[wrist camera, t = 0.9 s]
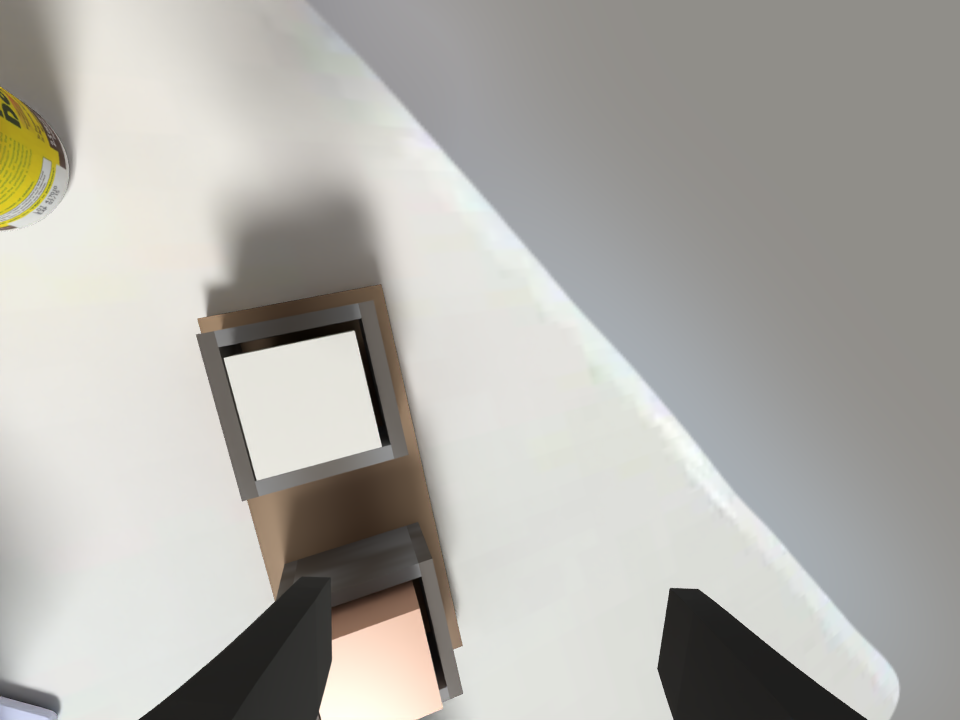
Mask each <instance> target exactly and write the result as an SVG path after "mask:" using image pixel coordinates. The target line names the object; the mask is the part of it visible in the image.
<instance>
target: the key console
mask: <svg viewBox="0 0 960 720" xmlns="http://www.w3.org/2000/svg"><path fill="white" fill-rule="evenodd" d="M198 323H199V327H200V330H201V334H196V336H197V340H198V344H199V347H200V351H201V355H202V358H203V362H204V365H205V369H206V373H207V376H208V380H209V383H210V387H211V391H212V394H213V398H214V402H215V405H216V409H217V412H218V416H219V420H220V423H221V427H222V430H223V434H224V438H225V441H226V445H227V449H228V452H229V456H230V459H231V463H232V467H233V470H234V474H235V477H236V481H237V485H238V488H239V492H240V496H241V499H242V501H245V500H247V501H248V505H249V508H250V512H251V516H252V519H253V523H254V527H255V530H256V534H257V537H258V541H259V545H260V548H261V552H262V556H263V559H264V563H265V567H266V570H267V574H268V577H269V581H270V585H271V588H272V592H273V596H274V599H275V601H276V600H277V599H278V598H279V597H280V596H281V595H282V594H283V593H284V592H285V591H286V590H287V589H288V588H290V587H291V586H292V585H293V584H294V583H295V582H296V581H297V580H298V579H299V578H300V577H302V576H303V577H331V607H334V606H337V605H340V604H343V603H346V602H349V601H352V600H355V599H358V598H361V597H363V596H366V595H369V594H372V593H375V592H378V591H381V590H384V589H387V588H390V587H392V586H395V585H398V584H401V583H404V582H407V581H410V580H412V582H413V586H414V589H415V593H416V597H417V600H418V604H419V608H420V612H421V616H422V620H423V625H424V629H425V633H426V637H427V642H428V646H429V650H430V654H431V659H432V663H433V667H434V671H435V676H436V680H437V684H438V688H439V693H440V697H441V701H442V702H444V701H447V700H449V699H452V698H454V697H456V696H459V695H461V694H463V691H462V686H461V682H460V677H459V673H458V669H457V664H456V660H455V656H454V651H453V649H456V648H458V647H461V646H463V645H462V641H461V636H460V632H459V627H458V623H457V619H456V614H455V610H454V605H453V601H452V596H451V592H450V587H449V583H448V579H447V574H446V570H445V565H444V561H443V556H442V552H441V548H440V543H439V539H438V534H437V530H436V525H435V521H434V516H433V512H432V508H431V503H430V499H429V494H428V490H427V485H426V481H425V476H424V472H423V468H422V463H421V459H420V454H419V450H418V445H417V441H416V437H415V432H414V428H413V423H412V419H411V414H410V410H409V405H408V401H407V397H406V392H405V388H404V383H403V379H402V374H401V370H400V365H399V361H398V357H397V352H396V348H395V343H394V339H393V334H392V330H391V326H390V321H389V317H388V312H387V308H386V303H385V299H384V294H383V290H382V286H381V284H380V285H375V286H369V287H364V288H359V289H353V290H348V291H342V292H337V293H332V294H326V295H321V296H316V297H310V298H305V299H300V300H294V301H289V302H284V303H278V304H273V305H268V306H262V307H257V308H252V309H246V310H241V311H235V312H230V313H225V314H219V315H214V316H209V317H203V318H198ZM351 330H354V331H355V335H356V339H357V343H358V347H359V352H360V356H361V360H362V364H363V369H364V373H365V377H366V381H367V386H368V390H369V394H370V398H371V403H372V407H373V411H374V415H375V420H376V424H377V428H378V432H379V437H380V441H381V445H382V447H380V448H376V449H372V450H369V451H365V452H361V453H357V454H354V455H350V456H346V457H343V458H339V459H335V460H332V461H328V462H324V463H320V464H317V465H313V466H309V467H306V468H302V469H298V470H295V471H291V472H287V473H283V474H280V475H276V476H272V477H269V478H265V479H261V480H258V481H257V480H256V476H255V472H254V469H253V465H252V461H251V458H250V454H249V450H248V446H247V443H246V439H245V435H244V432H243V428H242V424H241V421H240V417H239V413H238V410H237V406H236V402H235V398H234V395H233V391H232V387H231V384H230V380H229V376H228V373H227V369H226V365H225V362H224V358H226V357H229V356H233V355H236V354H240V353H245V352H250V351H255V350H260V349H265V348H269V347H274V346H279V345H284V344H289V343H293V342H298V341H303V340H308V339H313V338H318V337H322V336H327V335H332V334H337V333H342V332H346V331H351ZM316 720H321V716H320V713H318V716H317V719H316Z"/></svg>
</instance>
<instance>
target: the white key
mask: <svg viewBox="0 0 960 720" xmlns="http://www.w3.org/2000/svg"><path fill="white" fill-rule="evenodd" d="M224 362H225V365H226V369H227V373H228V376H229V380H230V384H231V387H232V391H233V395H234V398H235V402H236V406H237V410H238V413H239V417H240V421H241V424H242V428H243V432H244V435H245V439H246V443H247V446H248V450H249V454H250V458H251V461H252V465H253V469H254V472H255V476H256V480H257V481H258V480H261V479H265V478H269V477H272V476H276V475H280V474H283V473H287V472H291V471H295V470H298V469H302V468H306V467H309V466H313V465H317V464H320V463H324V462H328V461H332V460H335V459H339V458H343V457H346V456H350V455H354V454H357V453H361V452H365V451H369V450H372V449H376V448H380V447H382V445H381V441H380V437H379V432H378V428H377V424H376V420H375V415H374V411H373V407H372V403H371V398H370V394H369V390H368V386H367V381H366V377H365V373H364V369H363V364H362V360H361V356H360V352H359V347H358V343H357V339H356V335H355V331H354V330H351V331H346V332H342V333H337V334H332V335H327V336H322V337H318V338H313V339H308V340H303V341H298V342H293V343H289V344H284V345H279V346H274V347H269V348H265V349H260V350H255V351H250V352H245V353H240V354H236V355H233V356H229V357H226V358H224Z"/></svg>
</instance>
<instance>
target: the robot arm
mask: <svg viewBox="0 0 960 720" xmlns="http://www.w3.org/2000/svg"><path fill="white" fill-rule="evenodd" d="M331 663H332V617H331V577H303V576H302V577H300V578H299V579H298V580H297V581H296V582H295V583H294V584H293V585H292V586H291V587H290V588H288V589H287V590H286V591H285V592H284V593H283V594H282V595H281V596H280V597H279V598H278V599H277V600H276V601H275V602H274V603H273V604H272V605H271V606H270V607H269V608H268V609H267V610H266V611H265V612H264V613H263V614H262V615H261V616H260V617H258V618H257V619H256V620H255V621H254V622H253V623H252V624H251V625H250V626H249V627H248V628H247V629H246V630H245V631H244V632H242V633H241V634H240V635H239V636H238V637H237V638H236V639H235V640H234V641H233V642H232V643H230V644H229V645H228V646H227V647H226V648H225V649H224V650H223V651H222V652H221V653H219V654H218V655H217V656H216V657H215V658H214V659H213V660H211V661H210V662H209V663H208V664H207V665H206V666H204V667H203V668H202V669H201V670H200V671H199V672H197V673H196V674H195V675H194V676H193V677H191V678H190V679H189V680H188V681H187V682H186V683H184V684H183V685H182V686H181V687H180V688H178V689H177V690H176V691H175V692H174V693H172V694H171V695H170V696H169V697H167V698H166V699H165V700H164V701H162V702H161V703H160V704H159V705H157V706H156V707H155V708H153V709H152V710H151V711H149V712H148V713H147V714H145V715H144V716H143V717H141V718H140V719H139V720H316V719H317V716H318V713H319V709H320V706H321V702H322V698H323V694H324V691H325V687H326V683H327V679H328V675H329V671H330V667H331ZM657 669H658V672H659V676H660V679H661V682H662V685H663V689H664V692H665V695H666V698H667V701H668V704H669V707H670V710H671V713H672V716H673V719H674V720H867V719H866V718H864V717H863V716H862V715H860V714H859V713H857V712H856V711H855V710H853V709H852V708H850V707H849V706H848V705H846V704H845V703H844V702H842V701H841V700H839V699H838V698H837V697H835V696H834V695H833V694H831V693H830V692H829V691H827V690H826V689H824V688H823V687H822V686H820V685H819V684H818V683H816V682H815V681H814V680H812V679H811V678H810V677H808V676H807V675H806V674H805V673H803V672H802V671H801V670H799V669H798V668H797V667H795V666H794V665H793V664H792V663H790V662H789V661H788V660H787V659H785V658H784V657H783V656H781V655H780V654H779V653H778V652H776V651H775V650H774V649H773V648H771V647H770V646H769V645H768V644H766V643H765V642H764V641H763V640H761V639H760V638H759V637H758V636H757V635H755V634H754V633H753V632H752V631H750V630H749V629H748V628H747V627H745V626H744V625H743V624H742V623H741V622H739V621H738V620H737V619H736V618H734V617H733V616H732V615H731V614H730V613H728V612H727V611H726V610H725V609H723V608H722V607H721V606H720V605H718V604H717V603H716V602H715V601H713V600H712V599H711V598H709V597H708V596H707V595H706V594H704V593H703V592H701V591H700V590H699V589H682V588H670V590H669V597H668V603H667V610H666V616H665V623H664V629H663V636H662V642H661V649H660V655H659V662H658V668H657ZM0 720H58V718H57V714H56V713H55V712H54V711H52V710H49V709H45V708H42V707H38V706H34V705H31V704H27V703H23V702H20V701H16V700H12V699H9V698H5V697H1V696H0Z"/></svg>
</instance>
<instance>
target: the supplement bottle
mask: <svg viewBox="0 0 960 720" xmlns="http://www.w3.org/2000/svg"><path fill="white" fill-rule="evenodd" d="M68 181H69V164H68V158H67V155H66V151H65V149H64V147H63V144H62V142H61V141H60V139H59V137H58V136H57V134H56V133H55V131H54V130H53V129H52V127H51V126H50V125H49V124H48V123H47V122H46V121H45V120H44V119H43V118H42V117H41V116H40V115H39V114H37V113H36V112H35V111H34V110H32V109H31V108H30V107H28V106H27V105H26V104H24V103H23V102H22V101H20V100H19V99H17V98H16V97H14V96H13V95H12V94H10V93H9V92H7V91H6V90H4V89H3V88H2V87H0V231H13V230H17V229H21V228H25V227H28V226H30V225H33V224H35V223H37V222H39V221H41V220H42V219H44V218H45V217H46V216H48V215H49V214H50V213H51V212H52V211H53V210H54V209H55V208H56V207H57V206H58V204H59V203H60V202H61V200H62V198H63V196H64V194H65V192H66V189H67V185H68Z"/></svg>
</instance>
